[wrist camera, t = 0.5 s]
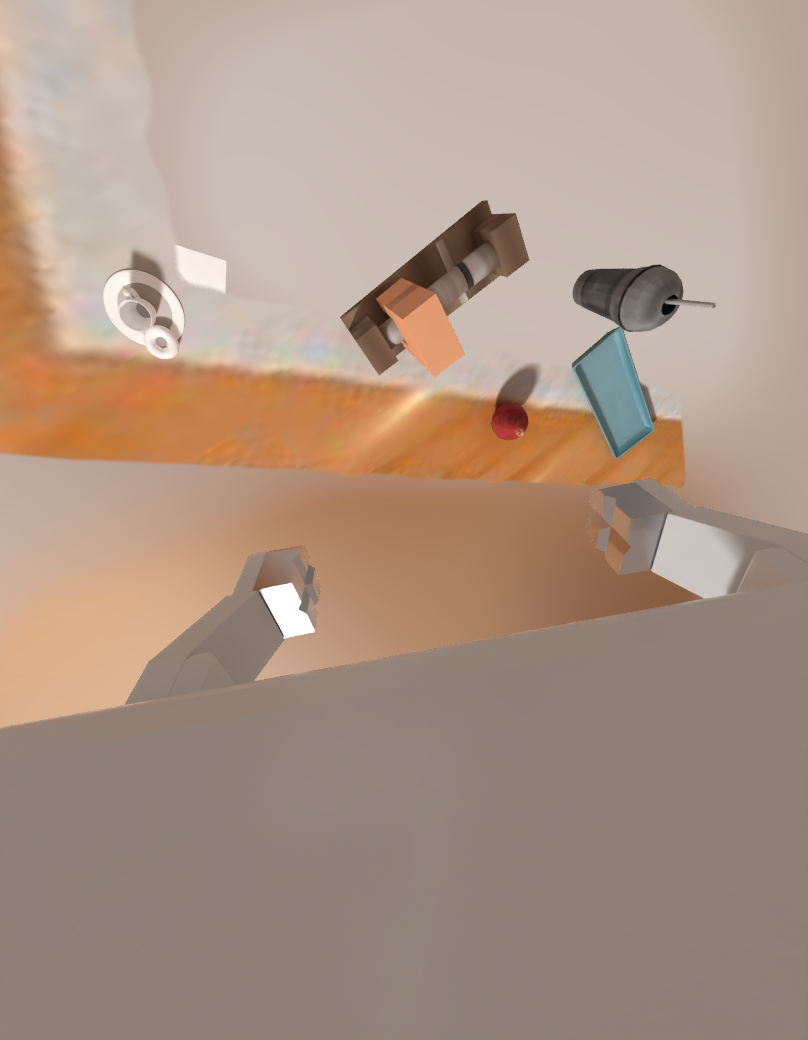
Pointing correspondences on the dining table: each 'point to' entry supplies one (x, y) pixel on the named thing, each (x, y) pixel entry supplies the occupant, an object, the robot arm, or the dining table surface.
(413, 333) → the orange angular piece
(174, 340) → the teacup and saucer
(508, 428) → the onion
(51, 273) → the dining table surface
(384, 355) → the pipe rig
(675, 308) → the beverage cup
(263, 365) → the dining table surface
